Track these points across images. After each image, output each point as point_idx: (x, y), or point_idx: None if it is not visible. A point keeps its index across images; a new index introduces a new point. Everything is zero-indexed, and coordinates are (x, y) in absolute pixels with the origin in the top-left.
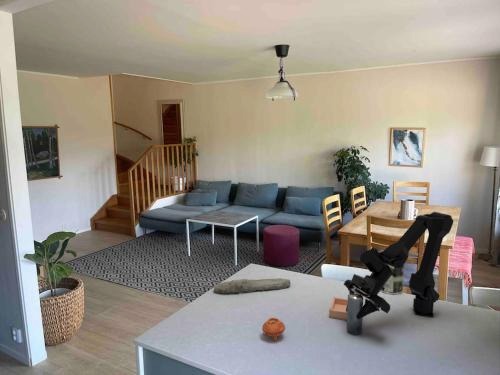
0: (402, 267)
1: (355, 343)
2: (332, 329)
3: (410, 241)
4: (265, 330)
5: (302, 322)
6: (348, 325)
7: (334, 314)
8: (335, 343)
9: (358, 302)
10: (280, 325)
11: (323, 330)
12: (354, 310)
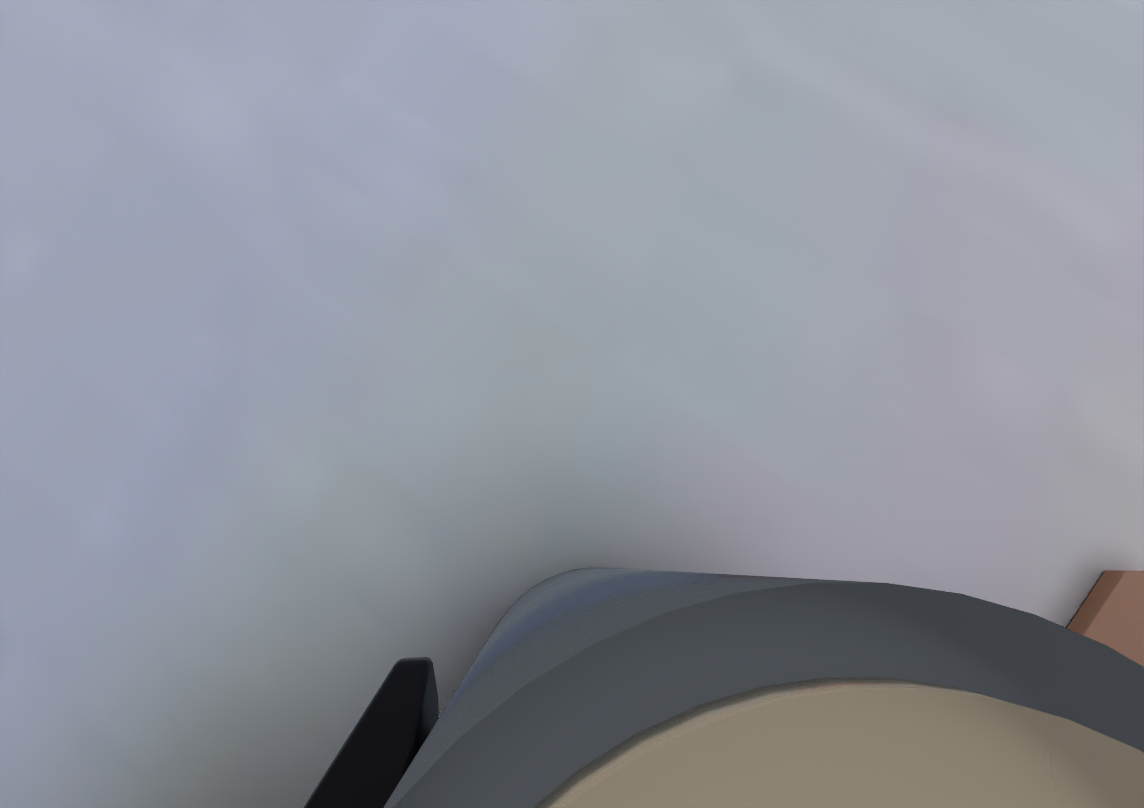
0: None
1: (324, 494)
2: (770, 412)
3: None
4: None
5: (1060, 147)
6: (608, 568)
7: (1115, 642)
8: (448, 247)
9: None
10: None
11: (788, 283)
12: (477, 665)
